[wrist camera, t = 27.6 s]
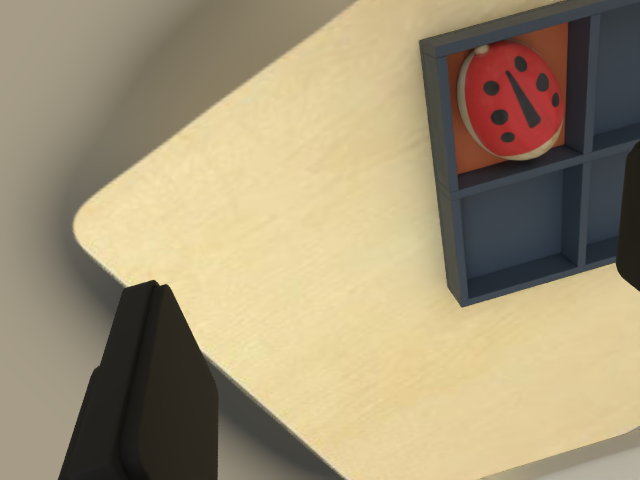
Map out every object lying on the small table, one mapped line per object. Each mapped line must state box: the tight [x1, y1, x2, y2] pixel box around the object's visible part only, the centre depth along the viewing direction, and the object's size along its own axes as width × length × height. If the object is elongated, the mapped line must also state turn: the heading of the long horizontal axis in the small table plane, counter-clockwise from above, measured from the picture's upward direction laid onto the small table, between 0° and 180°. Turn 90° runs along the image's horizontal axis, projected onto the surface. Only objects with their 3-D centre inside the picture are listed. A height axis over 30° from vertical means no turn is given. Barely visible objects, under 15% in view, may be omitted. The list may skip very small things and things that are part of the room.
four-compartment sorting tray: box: [419, 0, 640, 307], centre depth 38 cm, size 21×21×3 cm
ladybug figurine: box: [457, 38, 564, 160], centre depth 34 cm, size 7×10×4 cm
